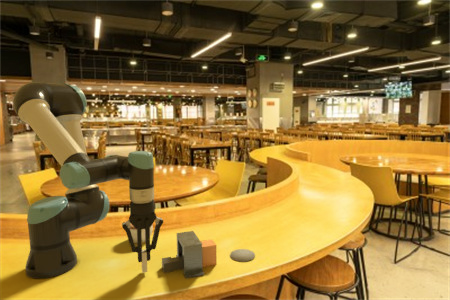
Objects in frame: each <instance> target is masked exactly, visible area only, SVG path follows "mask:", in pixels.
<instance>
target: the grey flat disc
mask: <svg viewBox="0 0 450 300" xmlns="http://www.w3.org/2000/svg"><path fill="white" fill-rule="evenodd" d="M229 254H230V255H229V256H230V258H231V259H232V260H233V261H236V262H242V263H244V262H250V261H253V260H254V259H255V258H256V254H255V253H254V251H253V250H249V249H245V248H239V249H238V248H237V249H234V250H232V251H231V252H230V253H229Z"/></svg>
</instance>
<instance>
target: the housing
mask: <svg viewBox="0 0 450 300" xmlns="http://www.w3.org/2000/svg"><path fill="white" fill-rule="evenodd" d="M200 241H201V240H200V239H199V237H198V235H196V233H195V232H194V230H190V231H184V232H176V255H175V257H180V256H183V269H182V273H183V276H184V278H185V279H186V280H188V279H191V278H192V279H193V278H196V277H201V276H205V271H204V270H203V267H202V243H201V242H200Z"/></svg>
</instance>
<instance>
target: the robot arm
mask: <svg viewBox="0 0 450 300" xmlns="http://www.w3.org/2000/svg"><path fill="white" fill-rule="evenodd" d="M87 102H88V101H87V97H86V95H85V93H84V92H83V90H82V89H81V88H79V87H78V86H76V85H74V84H69V83H52V82H41V81H31V82H26V83H25V84H23V85H21V86H20V87H19V88H18V89H17V90H16V91H15V93H14V95H13V99H12V105H13V110H14V112H15V113H16V115H17V116H18V118H19V120H20V121H22V122H24V123H26V124H28V125H29V126H30V128H31V129H32V130H33V132H34V133H35V134H36V135H37V137H38V138H39V139H40V141H41V142H42V144H43V145H44V146H45V147H46V149H48V151H49V153H51V155H52V156H53V157H54V158H55V160H56V162H57V163H58V164H59V165H60V170H59V178H60V180H61V183H62V185H63V186H64V187H65V188H67V190H66V191H65V193H64V195H54V196H48V197H45V198H41V199H39V200H37V201H35V202H33V203H31V204H30V205H29V207H28V208H27V219H26V222H27V227H28V237H29V239H28V240H29V249H30V250H29V253H28V256H27V260H26V264H25V266H24V267H25V274H26V276H27V277H28V278H31V279H47V278H52V277H56V276H57V277H58V276H60V275H62V274H65V273H67V272H68V271H70V270H72V269H73V268H74V267H76V265H77V263H78V259H77V258H78V257H77V253H76V251H75V248H74V247H73V245H72V243H71V240H70V239H71V238H70V233H71V232H73V231H76V230H79V229H82V228H84V227H87V226H90V225H95V224H97V223H98V222H101V221H103V220H104V219H105V218H106V217H107V215H108V214H109V211H110V200H109V196H108V195H107V194H106V192H105V191H104V190H101V189H100V188H99V185H98V184H102V183H103V184H104V183H107V182H111V181H115V180H126V181H128V182H129V183H128V185H129V186H128V188H129V190H128V191H129V200H130V201H129V208H130V209H129V212H130V213H129V217H128V220H126V221H124V222H122V223H121V226H122V229H123V230H124V231H125V234H126V237H127V240H128V243H129V245H130V250H131V252H132V253H136V254H137V261H138V263H141V271H142V273H143V274H144V273H147V272H148V262H149V261H151V251H153V250H155V249H156V248H157V243H158V239H159V235H160V231H161V227H162V225H163V224H164V219H163V218H162V217H158V216H157V214H156V211H155V207H156V205H155V203H156V202H155V200H154V199H155V182H154V181H155V172H154V168H155V164H154V163H155V162H154V155H153V152H151V151H147V150H137V151H130V152H129V153H128V154H127V156H125V155H119V154H109V155H106V156H105V157H101V158H95V159H94V158H93V159H91V158H90V157H89V156H88V152H87V148H86V144H85V141H84V135H83V131H82V125H81V121H82V120H83V118H84V116H83V115H84V114H85V113H86V111H87V106H88V103H87ZM130 223H131V224H132V225H133V226H134V227H135V228H136V229H137V243H134V241H133V237H132V234H131V231H130ZM154 223H155V226H154V231H153V234H152V238H151V236H150V227H151V225H152V224H153V225H154ZM141 229H145V242H144V243H145V249H143V243H142V236H141V233H142V231H141ZM151 239H152V240H151ZM135 244H136V245H135Z"/></svg>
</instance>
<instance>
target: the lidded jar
mask: <svg viewBox="0 0 450 300" xmlns="http://www.w3.org/2000/svg"><path fill="white" fill-rule="evenodd" d="M153 225H154V223H153V224H152V225H151V227H150V237H151V236H152V235H153V234H152V233H153V228H154V227H153ZM130 231H131V234H132V237H133V241H134V244H137V229H136V228H135V227H134V226H133V225H132V224H131V223H130ZM141 231H142V233H141V236H142V244H143V243H145V229H141Z"/></svg>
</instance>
